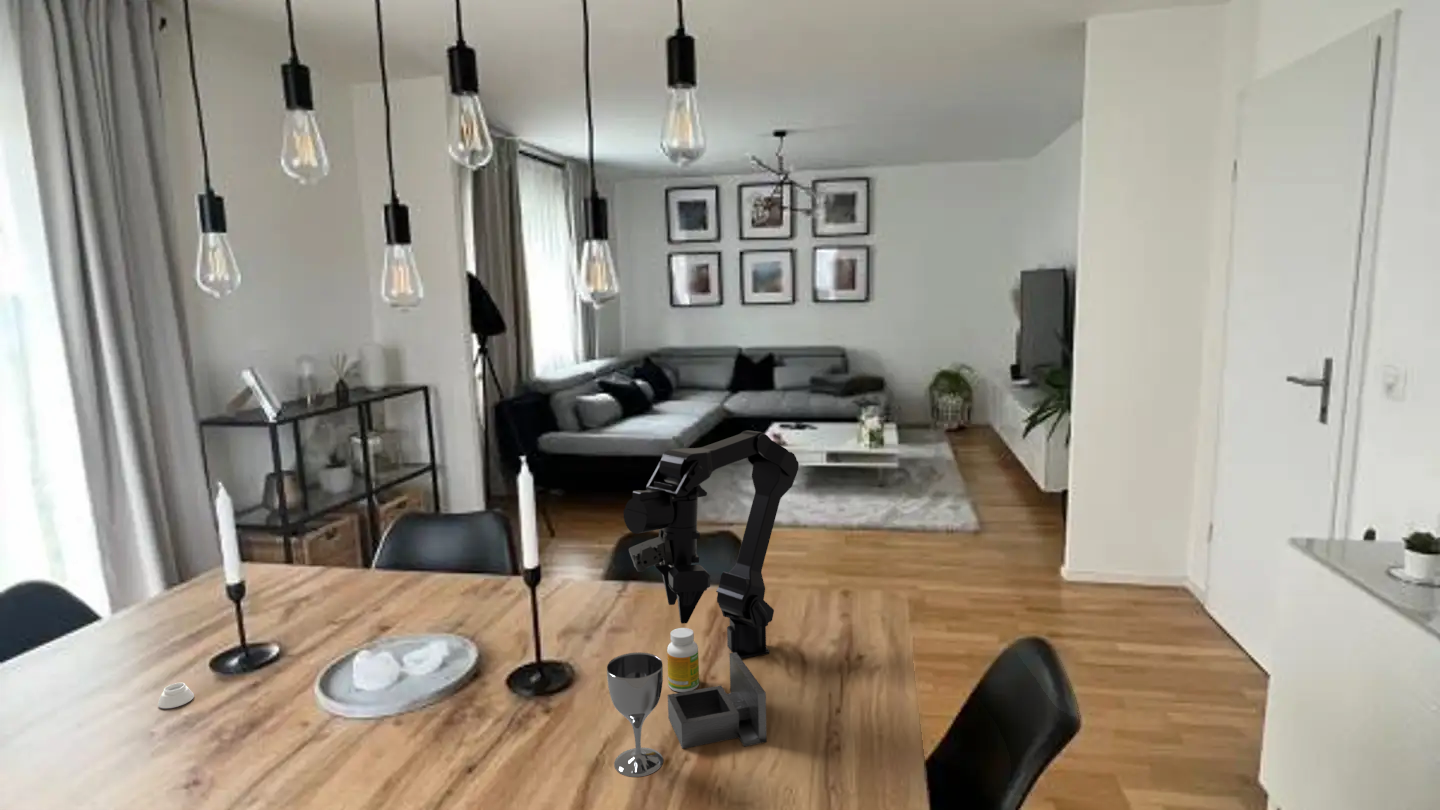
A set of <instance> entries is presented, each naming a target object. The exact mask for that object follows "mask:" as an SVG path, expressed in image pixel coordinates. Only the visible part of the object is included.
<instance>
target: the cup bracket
mask: <svg viewBox="0 0 1440 810" xmlns="http://www.w3.org/2000/svg"><path fill="white" fill-rule="evenodd" d="M729 685H730V686H729V690H730V691H729V693H727V692H726V691H725V689H724V687H723V686H722V685H715V686H711V687H710V686H709V687H705V688H699V689H694V690H692V691H686V692H675V693H670V694H667V712H668V716H667V717H668V721H669V722H670V724H671V727H672V729H673V732H674V733H675V735H676V738H677V739H678V743H679V744H680V747H681V748H682V750H683V749H689V748H694V747H699V746H702V745H709V744H713V743H717V742H723V741H728V740H734V739H739V741H740V742H741V744H742V746H743V747H749V746H754V745H758V744H759V745H760V744H764V743H767V693H766V691H765V689H764V688H763V686H762V685H761V684H760V682H759V681H758V680H757V679H756V678H755V676H754V674H753V673H752V671H750V669H749V667H748V666H747V665H746V663H745V662H744V660H743V658H740V657H739V655H738V654H737V653H736V652H735V653H733V652H731V653H729Z"/></svg>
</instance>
